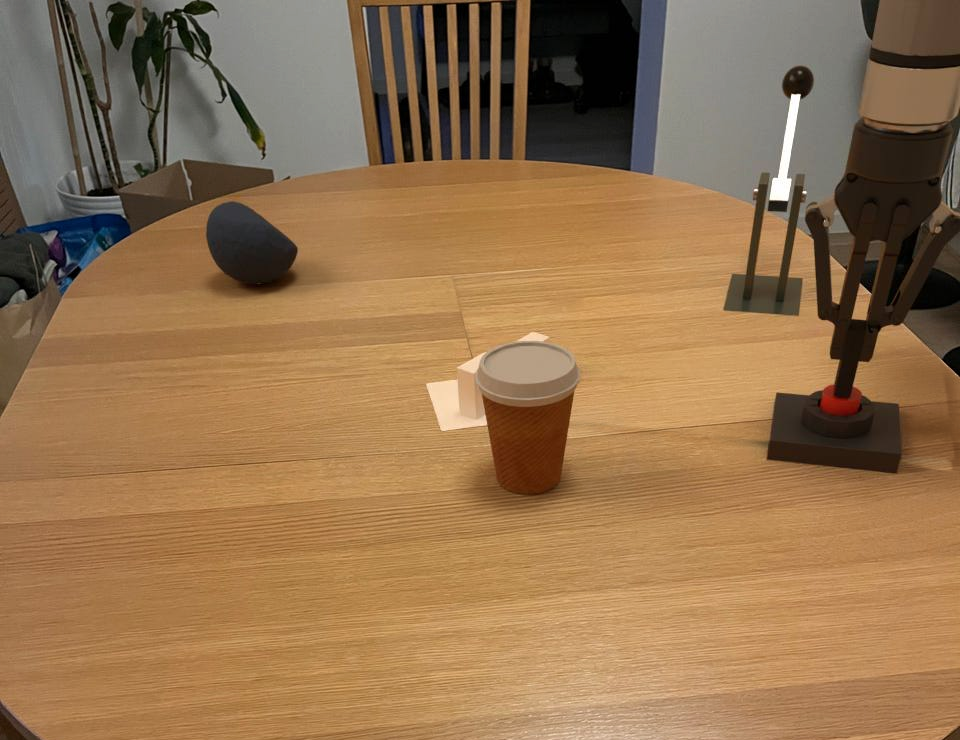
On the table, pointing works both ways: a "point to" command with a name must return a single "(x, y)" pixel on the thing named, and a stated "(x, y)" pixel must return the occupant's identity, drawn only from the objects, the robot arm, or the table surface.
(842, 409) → the button
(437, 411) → the napkin holder
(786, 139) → the lever
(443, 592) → the table surface
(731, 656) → the table surface
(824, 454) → the button box
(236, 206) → the decorative stone
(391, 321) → the table surface
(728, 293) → the bracket
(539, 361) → the disposable coffee cup
